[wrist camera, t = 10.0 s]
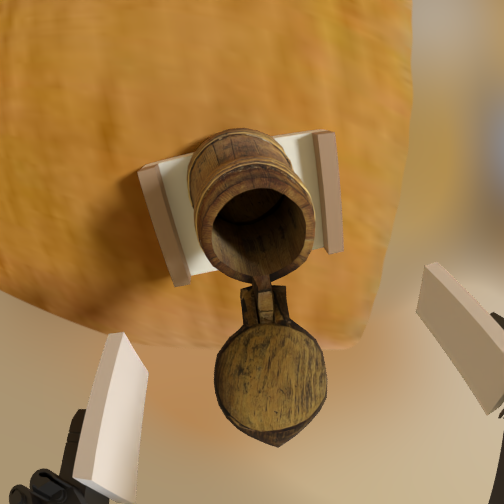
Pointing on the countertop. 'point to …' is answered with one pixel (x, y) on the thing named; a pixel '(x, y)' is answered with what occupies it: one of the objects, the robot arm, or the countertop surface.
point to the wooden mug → (259, 280)
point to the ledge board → (182, 213)
